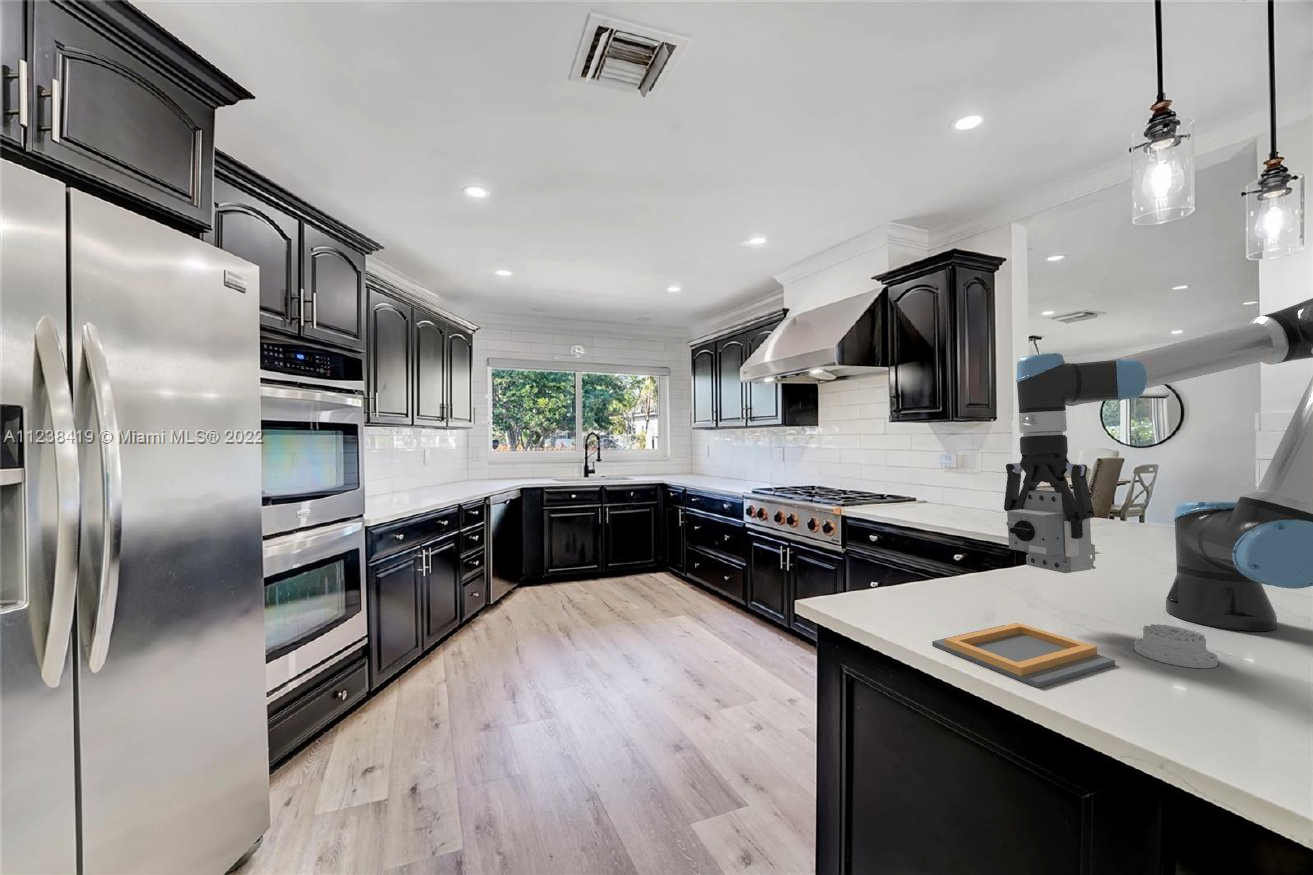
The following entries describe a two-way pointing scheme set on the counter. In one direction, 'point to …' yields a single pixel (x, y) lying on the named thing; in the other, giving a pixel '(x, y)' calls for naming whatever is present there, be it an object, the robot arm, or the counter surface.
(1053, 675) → the base
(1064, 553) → the circuit breaker
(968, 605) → the counter surface
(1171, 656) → the mechanical component
